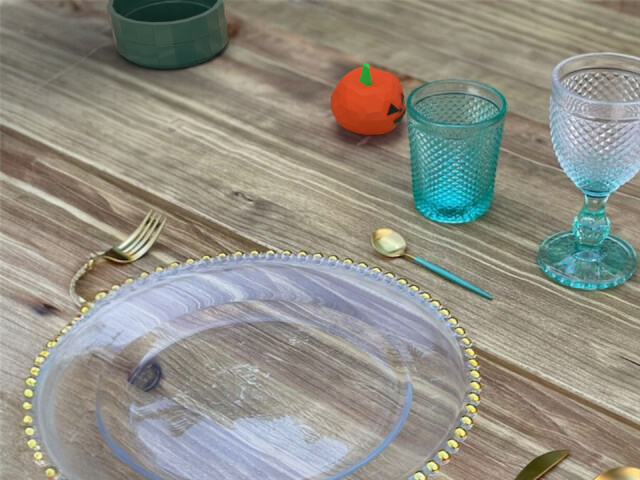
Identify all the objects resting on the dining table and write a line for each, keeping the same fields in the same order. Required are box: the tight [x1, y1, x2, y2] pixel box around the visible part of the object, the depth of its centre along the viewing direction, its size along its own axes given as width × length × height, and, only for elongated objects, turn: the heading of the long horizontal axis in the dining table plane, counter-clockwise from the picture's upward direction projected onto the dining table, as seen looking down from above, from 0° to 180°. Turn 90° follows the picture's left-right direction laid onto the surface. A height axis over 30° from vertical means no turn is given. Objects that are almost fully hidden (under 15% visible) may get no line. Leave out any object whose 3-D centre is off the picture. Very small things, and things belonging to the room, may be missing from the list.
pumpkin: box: [330, 62, 407, 136], centre depth 88 cm, size 7×8×6 cm
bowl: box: [106, 0, 230, 70], centre depth 101 cm, size 12×12×5 cm
